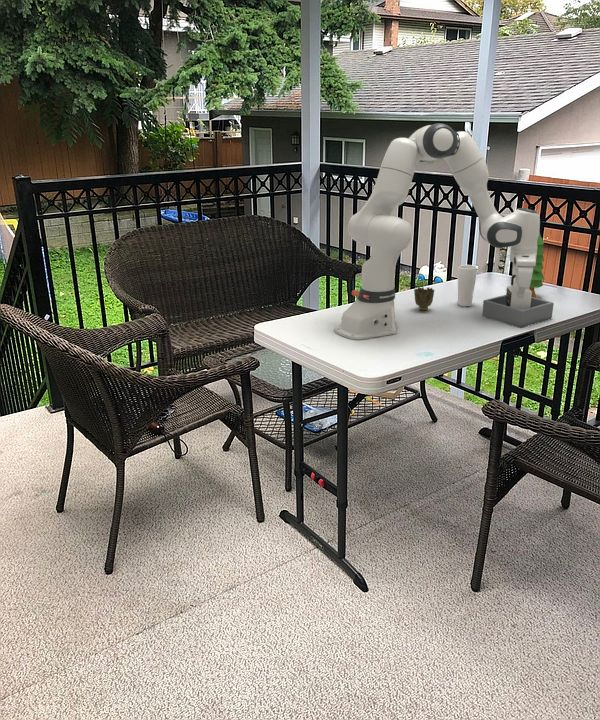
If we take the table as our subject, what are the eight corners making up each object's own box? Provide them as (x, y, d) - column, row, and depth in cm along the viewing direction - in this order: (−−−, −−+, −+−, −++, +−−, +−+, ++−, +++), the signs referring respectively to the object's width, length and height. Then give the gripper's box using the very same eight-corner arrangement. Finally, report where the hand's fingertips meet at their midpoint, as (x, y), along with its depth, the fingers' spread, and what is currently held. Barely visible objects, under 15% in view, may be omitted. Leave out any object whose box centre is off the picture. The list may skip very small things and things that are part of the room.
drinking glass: (475, 307, 241) (478, 268, 236) (457, 307, 241) (460, 269, 236) (471, 302, 247) (474, 264, 242) (454, 302, 248) (456, 264, 242)
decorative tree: (518, 300, 249) (527, 223, 238) (514, 293, 257) (522, 219, 246) (544, 300, 247) (554, 223, 236) (538, 294, 256) (548, 219, 245)
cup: (411, 312, 237) (412, 291, 235) (414, 306, 244) (415, 286, 241) (431, 313, 235) (433, 292, 232) (434, 307, 242) (435, 287, 239)
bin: (520, 328, 218) (522, 311, 216) (482, 316, 231) (483, 300, 229) (551, 318, 226) (553, 302, 224) (512, 307, 240) (514, 292, 237)
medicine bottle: (505, 304, 231) (508, 272, 227) (525, 304, 231) (528, 272, 226) (509, 310, 225) (512, 278, 220) (530, 310, 224) (533, 277, 220)
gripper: (510, 249, 231) (506, 286, 236) (517, 262, 212) (512, 302, 217) (528, 249, 230) (524, 287, 235) (536, 262, 211) (532, 302, 216)
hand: (518, 294), depth 226 cm, fingers closed on medicine bottle, 7 cm apart
